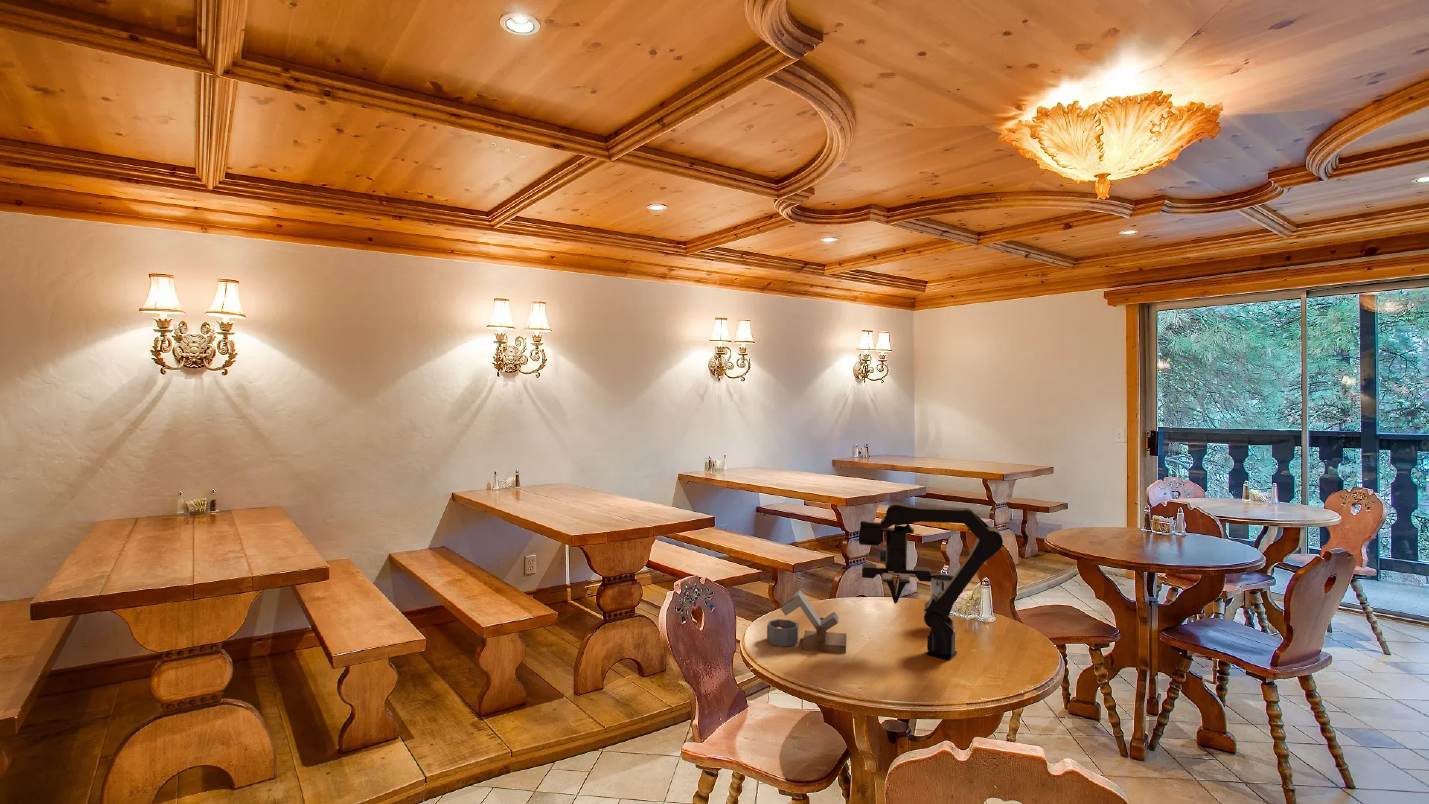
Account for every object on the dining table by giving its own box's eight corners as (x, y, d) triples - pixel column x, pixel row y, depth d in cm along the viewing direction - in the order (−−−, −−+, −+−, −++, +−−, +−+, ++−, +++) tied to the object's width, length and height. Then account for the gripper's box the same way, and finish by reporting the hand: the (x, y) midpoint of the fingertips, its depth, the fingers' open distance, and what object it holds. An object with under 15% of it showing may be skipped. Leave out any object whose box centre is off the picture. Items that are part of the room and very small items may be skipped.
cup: (799, 637, 209) (799, 620, 209) (796, 648, 201) (796, 630, 200) (769, 635, 211) (769, 618, 211) (765, 645, 202) (766, 628, 202)
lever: (839, 618, 205) (813, 580, 207) (839, 625, 200) (811, 586, 201) (807, 639, 207) (781, 601, 208) (806, 646, 201) (779, 607, 203)
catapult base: (846, 640, 207) (846, 618, 207) (845, 653, 197) (846, 629, 197) (804, 637, 209) (805, 615, 209) (802, 649, 200) (802, 626, 199)
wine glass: (923, 622, 223) (924, 575, 223) (944, 620, 226) (945, 573, 226) (940, 631, 216) (940, 581, 216) (961, 628, 219) (962, 579, 218)
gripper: (928, 543, 206) (927, 596, 207) (862, 539, 210) (861, 592, 210) (932, 552, 195) (931, 608, 196) (862, 548, 199) (861, 603, 199)
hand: (895, 602), depth 201 cm, fingers closed
